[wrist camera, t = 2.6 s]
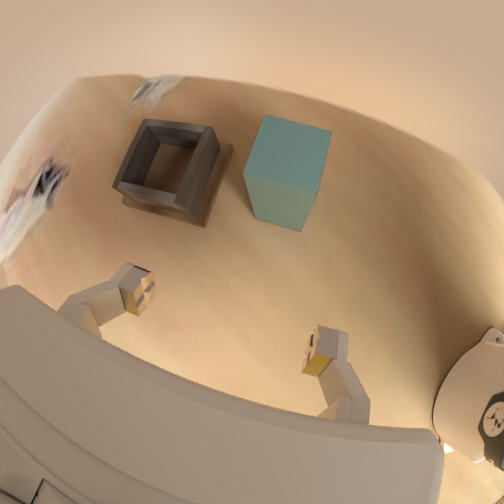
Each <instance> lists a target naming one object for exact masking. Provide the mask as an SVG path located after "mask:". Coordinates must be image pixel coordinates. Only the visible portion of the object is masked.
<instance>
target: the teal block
mask: <svg viewBox="0 0 504 504" xmlns="http://www.w3.org/2000/svg"><path fill="white" fill-rule="evenodd" d="M331 133H332V132H330V131H326V130H323V129H320V128H316V127H312V126H309V125H305V124H301V123H297V122H293V121H289V120H285V119H280V118H276V117H271V116H267V115H264V117H263V119H262V122H261V125H260V127H259V130H258V133H257V135H256V138H255V141H254V143H253V146H252V149H251V152H250V154H249V157H248V160H247V163H246V165H245V168H244V171H243V176H244V179H245V183H246V187H247V190H248V194H249V197H250V201H251V205H252V208H253V212H254V216H255V219H258V220H262V221H265V222H269V223H272V224H275V225H279V226H282V227H286V228H289V229H292V230H296V231H299V232H301V229H302V227H303V225H304V222H305V220H306V218H307V215H308V213H309V211H310V209H311V206H312V204H313V202H314V199H315V197H316V194H317V191H318V187H319V183H320V179H321V175H322V171H323V167H324V163H325V159H326V155H327V150H328V146H329V142H330V137H331Z"/></svg>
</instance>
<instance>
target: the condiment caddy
mask: <svg viewBox="0 0 504 504" xmlns="http://www.w3.org/2000/svg"><path fill="white" fill-rule="evenodd" d="M233 150H234V149H233V145H230V144H225V143H220V142H218V140H217V137H216V135H215V132H214V130H213V127H207V126H201V125H194V124H187V123H179V122H171V121H162V120H152V119H144V120H143V122H142V124H141V126H140V127H139V129H138V131H137V133H136V135H135V137H134V139H133V141H132V143H131V145H130V147H129V150H128V152H127V154H126V156H125V158H124V160H123V163H122V165H121V167H120V169H119V172H118V174H117V176H116V179H115V181H114V183H113V186H112V187H113V188H114V189H116V190H117V191H119V192H120V193H122V194H123V195H125V196H124V198H123V201H122V203H123V204H124V205H126V206H130V207H133V208H137V209H141V210H144V211H148V212H151V213H155V214H158V215H162V216H165V217H169V218H172V219H176V220H179V221H183V222H186V223H189V224H193V225H196V226H200V227H203V228H205V226H206V223H207V220H208V217H209V215H210V212H211V209H212V206H213V203H214V200H215V198H216V195H217V192H218V189H219V187H220V184H221V181H222V178H223V176H224V173H225V170H226V168H227V165H228V162H229V160H230V157H231V155H232V152H233Z"/></svg>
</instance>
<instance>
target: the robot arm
mask: <svg viewBox="0 0 504 504" xmlns="http://www.w3.org/2000/svg"><path fill="white" fill-rule="evenodd" d="M153 279H154V274H153V272H151V271H148V270H146V269H143V268H141V267H138V266H136V265H133V264H131V263H125V264H124V265H123V266H122V268H121V269H120V270H119V271H118V272H117V273H116V274H115V275H114V277H113V278H112V279H111V280H110V281H109V282H107V281H106V282H103V283H101V284H98V285H96V286H93V287H91V288H88V289H86V290H83V291H81V292H78V293H76V294H73V295H71V296H69V298H68V299H67V300H66V301H65V302H64V303H63V305H62V306H61V307H60V308H59V309H58V310H57V311H55V310H54V309H52V308H51V307H49V306H48V305H46V304H45V303H44V302H42V301H41V300H39V299H38V298H37V297H35V296H34V295H32V294H31V293H30V292H28V291H27V290H26V289H24V288H23V287H22V286H20V285H12V286H9V287H6V288H4V289H1V290H0V504H437V503H438V499H439V494H440V489H441V483H442V477H443V468H444V453H449V452H452V451H457V452H458V453H460V454H461V455H463V456H464V457H466V458H467V459H469V460H470V461H472V462H474V463H478V462H481V461H484V460H487V461H489V462H490V463H491V465H493V466H494V467H496V468H498V469H500V470H502V471H504V334H503V333H501V332H500V331H499V330H497V329H494V328H490V329H489V330H488V331H487V333H486V334H485V335H484V337H483V338H482V340H481V341H480V342H479V343H478V344H477V345H476V346H474V347H473V348H472V349H470V350H469V351H467V352H466V353H465V354H464V355H463V356H462V357H461V358H460V359H459V360H458V361H457V362H456V364H455V365H454V366H453V367H452V369H451V370H450V372H449V373H448V375H447V377H446V378H445V380H444V382H443V384H442V386H441V388H440V390H439V393H438V396H437V399H436V402H435V406H434V412H433V423H434V427H435V430H436V432H437V433H438V435H439V436H440V443H439V441H438V440H437V438H436V436H435V435H434V433H433V432H432V431H431V430H430V429H425V428H400V427H386V426H376V425H369V414H370V399H369V398H368V396H367V394H366V392H365V390H364V388H363V386H362V384H361V383H360V381H359V379H358V377H357V375H356V373H355V372H354V370H353V368H352V366H351V364H350V363H349V362H347V353H348V333H346V332H343V331H339V330H336V329H332V328H328V327H324V326H320V325H317V326H316V327H315V329H314V334H312V335H311V336H310V338H309V341H308V343H307V347H306V351H305V354H306V358H305V360H304V362H303V367H302V373H305V374H309V375H313V376H316V377H318V380H319V382H320V385H321V388H322V390H323V393H324V396H325V399H326V401H327V404H328V408H327V409H325V410H324V411H323V412H322V413H320V414H319V415H318V417H315V416H310V415H305V414H300V413H296V412H292V411H287V410H283V409H279V408H275V407H271V406H268V405H264V404H260V403H257V402H253V401H250V400H247V399H243V398H240V397H237V396H234V395H231V394H227V393H224V392H222V391H219V390H216V389H213V388H210V387H207V386H205V385H202V384H199V383H196V382H194V381H191V380H189V379H186V378H184V377H181V376H179V375H176V374H174V373H171V372H169V371H167V370H164V369H162V368H160V367H158V366H155V365H153V364H151V363H149V362H147V361H145V360H142V359H140V358H138V357H136V356H134V355H132V354H130V353H128V352H126V351H124V350H122V349H120V348H118V347H116V346H114V345H112V344H111V343H109V342H107V341H105V340H103V339H101V337H102V335H101V333H100V331H99V328H98V327H100V326H101V325H103V324H105V323H107V322H108V321H110V320H112V319H114V318H116V317H117V316H119V315H121V314H123V313H124V312H126V311H127V312H130V313H132V314H134V315H137V316H140V315H141V314H142V312H143V311H144V309H145V308H146V304H145V303H147V302H149V301H151V299H152V298H153V296H154V293H155V283H154V282H153Z"/></svg>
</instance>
